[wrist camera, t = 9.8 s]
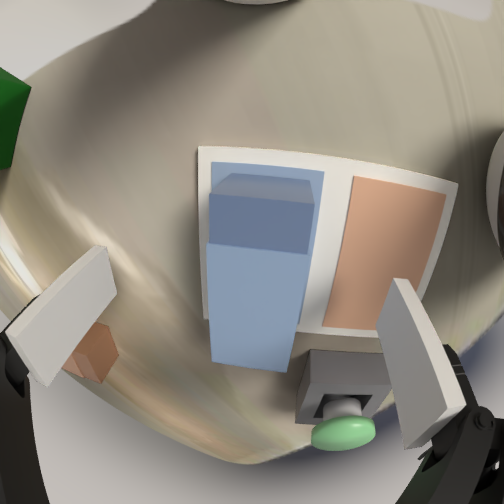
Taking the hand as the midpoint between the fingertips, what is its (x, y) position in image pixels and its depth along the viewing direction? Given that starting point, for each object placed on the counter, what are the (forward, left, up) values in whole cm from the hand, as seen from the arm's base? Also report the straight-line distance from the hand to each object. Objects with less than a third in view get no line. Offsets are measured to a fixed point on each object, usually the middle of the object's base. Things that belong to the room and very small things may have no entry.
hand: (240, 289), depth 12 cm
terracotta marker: (-17, -11, -4) cm, 21 cm away
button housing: (+7, -11, -4) cm, 14 cm away
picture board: (+4, 0, -4) cm, 6 cm away
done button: (+7, -11, -1) cm, 13 cm away
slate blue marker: (+1, 0, -4) cm, 4 cm away
